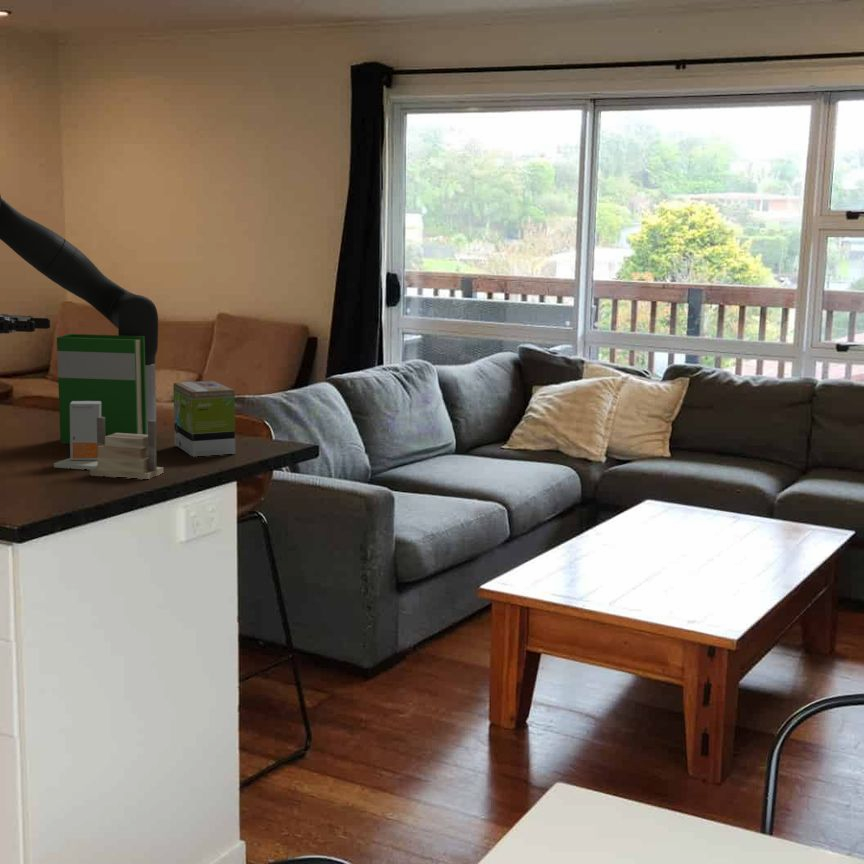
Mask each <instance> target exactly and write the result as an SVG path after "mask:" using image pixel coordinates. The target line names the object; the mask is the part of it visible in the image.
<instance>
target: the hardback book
mask: <svg viewBox="0 0 864 864" xmlns="http://www.w3.org/2000/svg"><path fill="white" fill-rule="evenodd" d="M56 355H57V382H58V407H59V408H58V409H59V435H60V444H70V403H71V402H72V401H101V417H105V436H108V435H111V434H114V433H128V434H143V435H147V419H146V375H145V336H121V335H116V334H114V335H113V334H112V335H111V334H89V333H87V334H83V333H68V334H67V333H66V334H64V335H61V336H58V337H56Z"/></svg>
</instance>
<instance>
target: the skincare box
mask: <svg viewBox="0 0 864 864" xmlns="http://www.w3.org/2000/svg"><path fill="white" fill-rule="evenodd" d="M97 417H101V401H72V402H71V403H70V443H69V450H70V451H69V454H70V457H69V458H70V460H96V461H98V460H97Z"/></svg>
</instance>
